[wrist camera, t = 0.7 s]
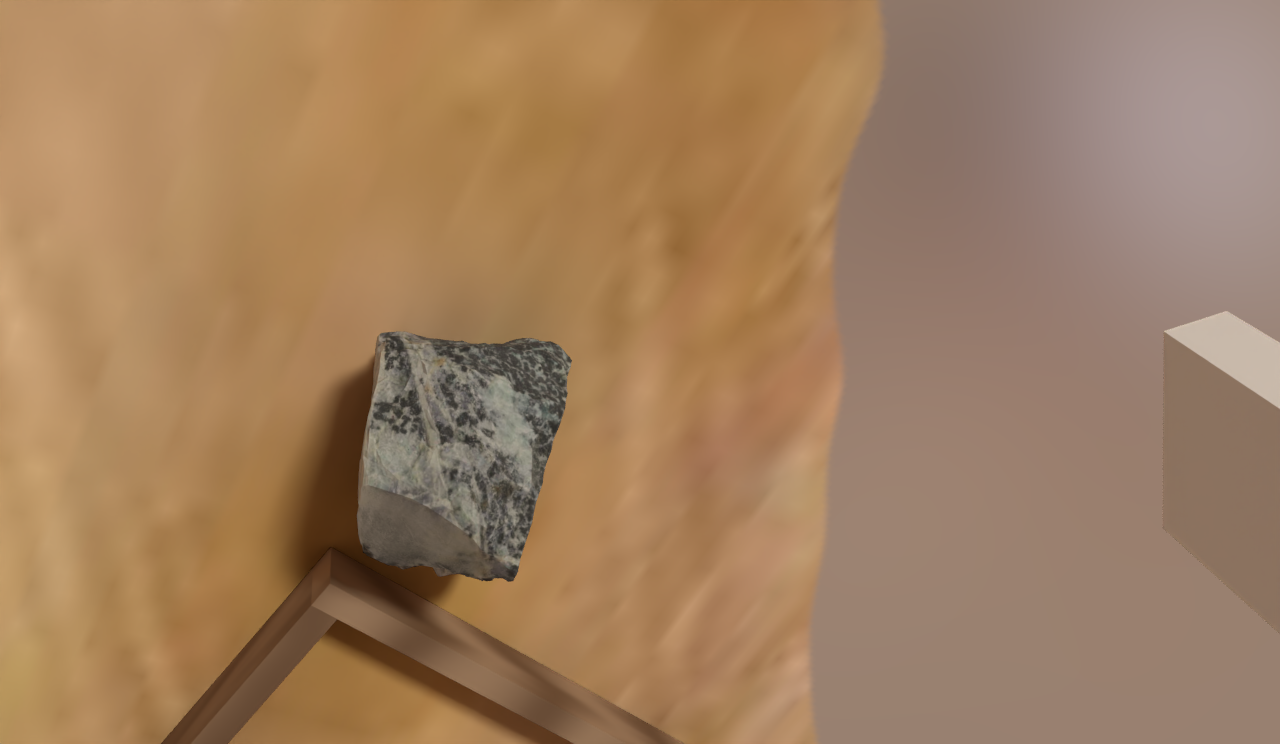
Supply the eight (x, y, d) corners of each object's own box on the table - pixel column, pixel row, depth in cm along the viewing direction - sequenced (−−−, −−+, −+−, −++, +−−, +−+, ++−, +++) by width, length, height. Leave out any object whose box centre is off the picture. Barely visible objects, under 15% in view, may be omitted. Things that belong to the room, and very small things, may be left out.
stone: (604, 609, 39) (362, 448, 34) (434, 638, 46) (214, 508, 41) (677, 379, 44) (476, 212, 39) (515, 436, 51) (328, 300, 46)
